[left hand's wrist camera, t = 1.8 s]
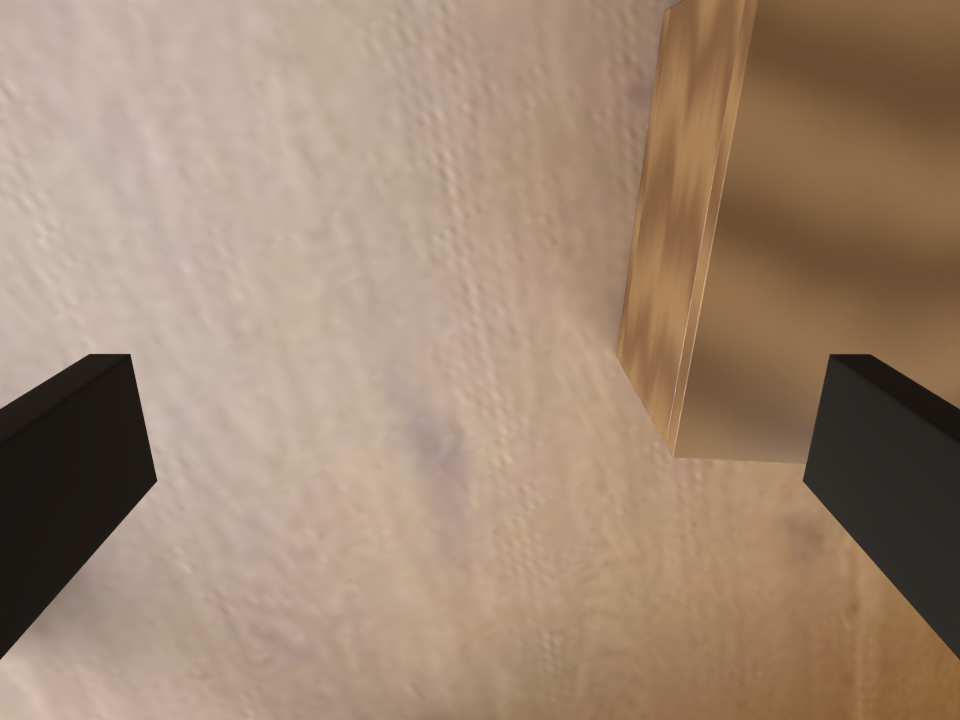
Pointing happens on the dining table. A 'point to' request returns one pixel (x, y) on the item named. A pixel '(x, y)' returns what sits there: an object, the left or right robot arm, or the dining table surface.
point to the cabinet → (793, 215)
